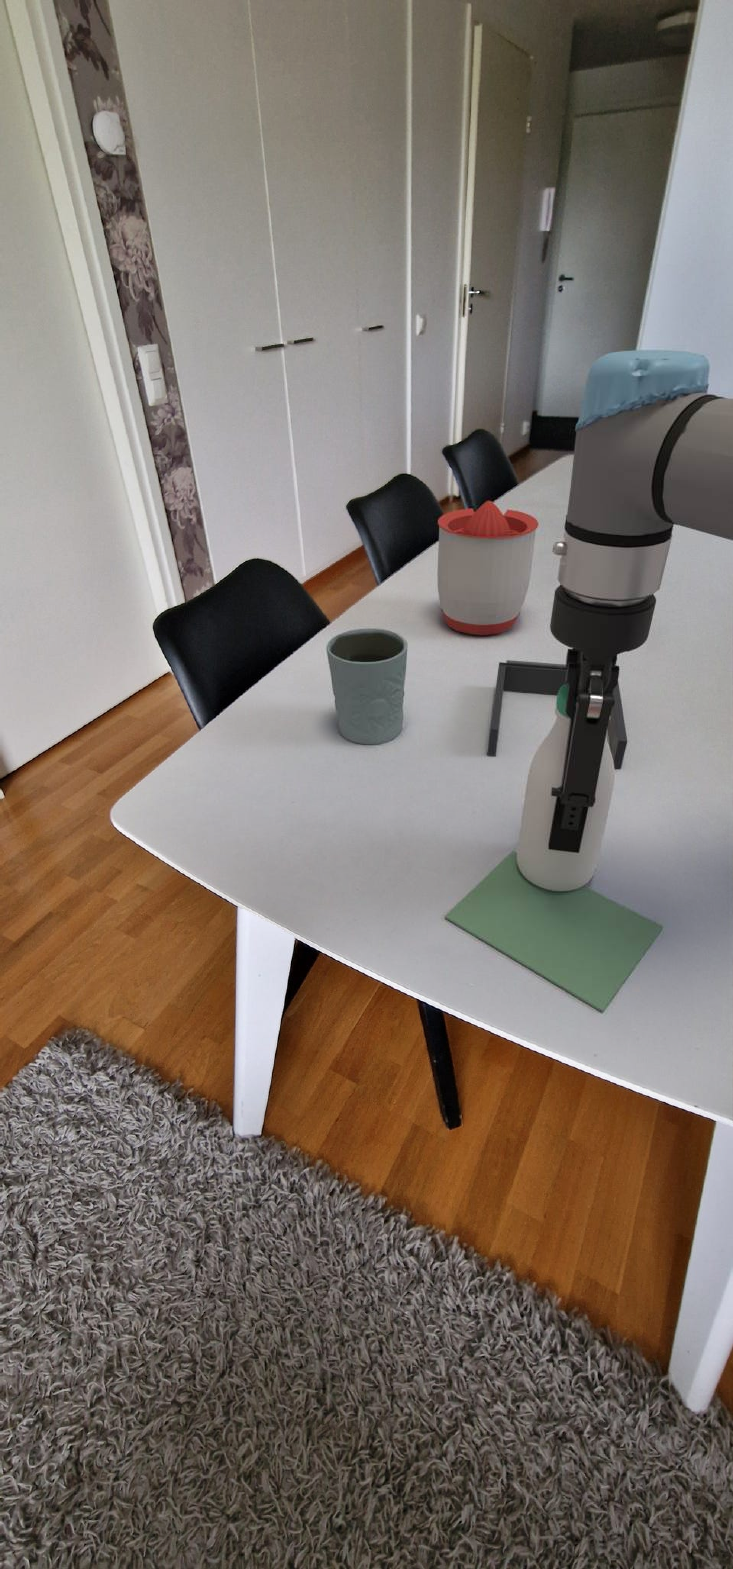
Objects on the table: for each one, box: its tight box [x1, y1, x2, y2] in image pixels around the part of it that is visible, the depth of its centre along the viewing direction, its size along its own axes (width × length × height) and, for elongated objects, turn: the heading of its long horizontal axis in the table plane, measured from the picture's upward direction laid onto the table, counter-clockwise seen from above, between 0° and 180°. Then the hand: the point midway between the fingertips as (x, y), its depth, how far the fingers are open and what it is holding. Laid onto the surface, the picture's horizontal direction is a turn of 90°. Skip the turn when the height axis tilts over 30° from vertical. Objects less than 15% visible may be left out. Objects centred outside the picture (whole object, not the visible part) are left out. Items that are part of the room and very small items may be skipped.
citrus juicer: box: [436, 500, 539, 636], centre depth 115 cm, size 16×17×20 cm
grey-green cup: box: [326, 627, 409, 746], centre depth 90 cm, size 10×10×12 cm
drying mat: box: [444, 850, 664, 1014], centre depth 65 cm, size 16×12×1 cm
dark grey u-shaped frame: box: [487, 659, 628, 770], centre depth 92 cm, size 18×16×5 cm
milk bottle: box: [516, 683, 616, 891], centre depth 65 cm, size 8×8×20 cm
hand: (563, 819), depth 67 cm, fingers closed on milk bottle, 8 cm apart
